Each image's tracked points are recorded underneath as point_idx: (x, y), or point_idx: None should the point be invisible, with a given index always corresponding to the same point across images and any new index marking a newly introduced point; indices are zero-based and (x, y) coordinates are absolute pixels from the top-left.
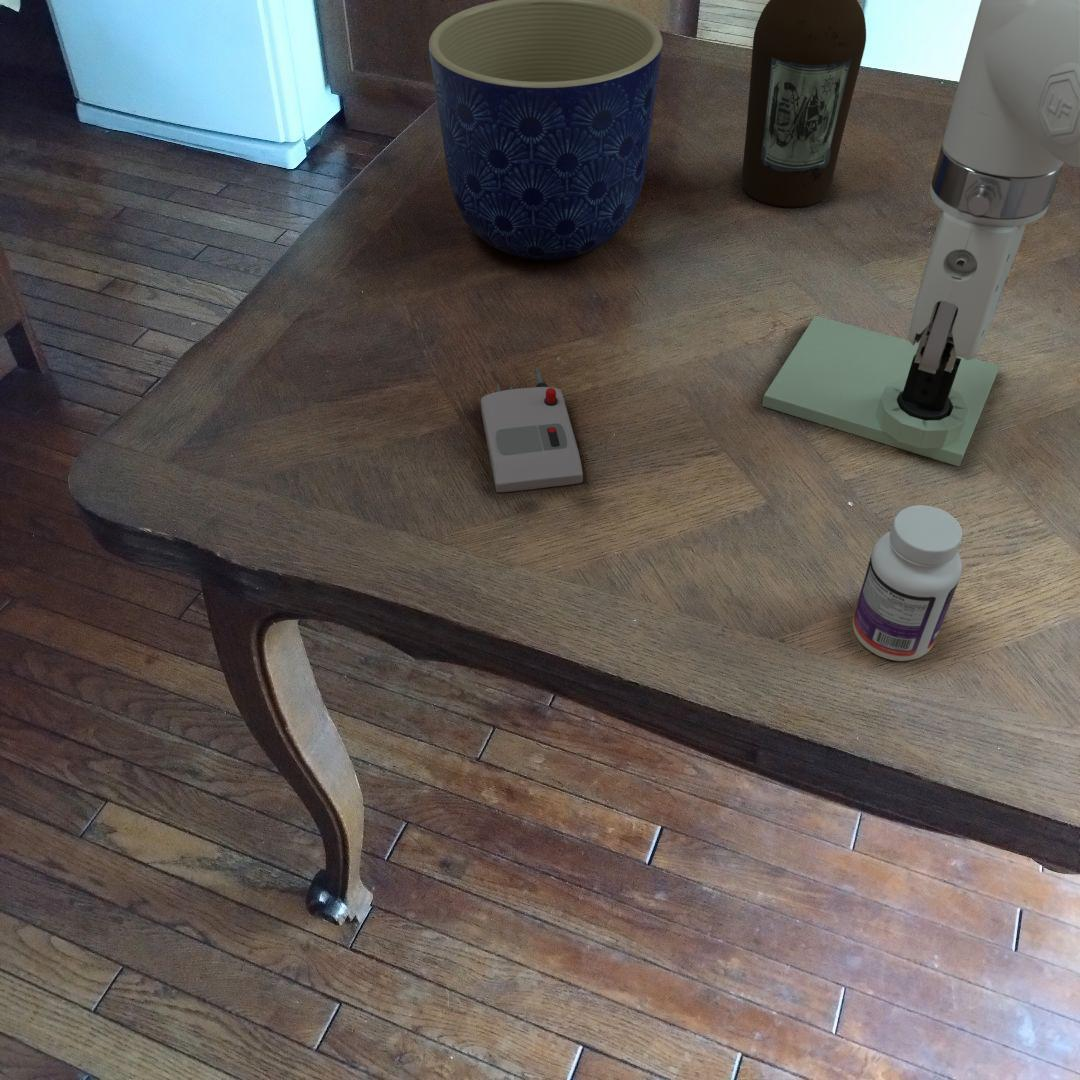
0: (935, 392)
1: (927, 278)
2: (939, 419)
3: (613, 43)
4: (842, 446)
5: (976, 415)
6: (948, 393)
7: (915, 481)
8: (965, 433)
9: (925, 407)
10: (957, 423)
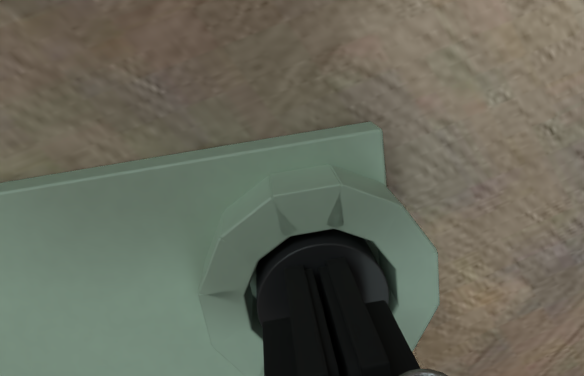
0: (397, 324)
1: None
2: (353, 241)
3: None
4: (435, 336)
5: (197, 167)
6: (355, 289)
7: (469, 179)
8: (291, 159)
9: None
10: (359, 197)
